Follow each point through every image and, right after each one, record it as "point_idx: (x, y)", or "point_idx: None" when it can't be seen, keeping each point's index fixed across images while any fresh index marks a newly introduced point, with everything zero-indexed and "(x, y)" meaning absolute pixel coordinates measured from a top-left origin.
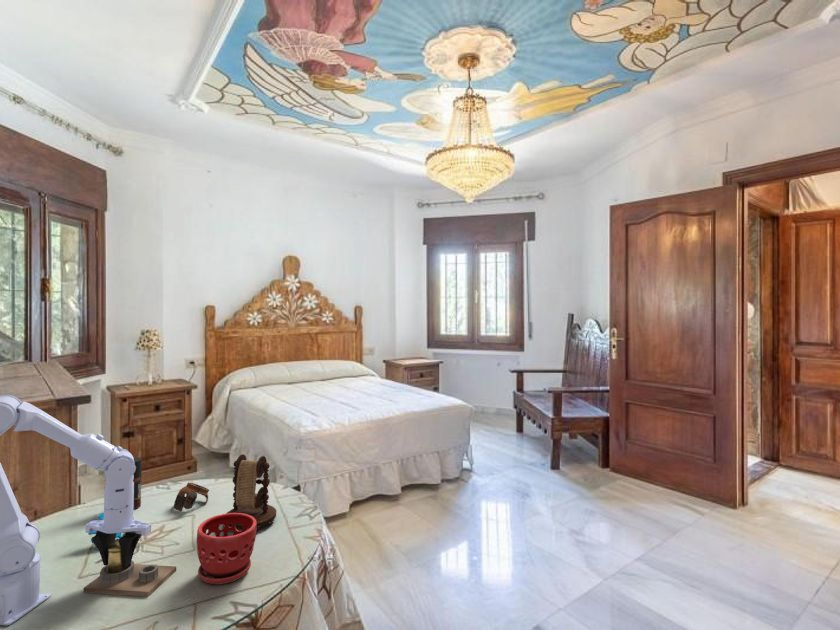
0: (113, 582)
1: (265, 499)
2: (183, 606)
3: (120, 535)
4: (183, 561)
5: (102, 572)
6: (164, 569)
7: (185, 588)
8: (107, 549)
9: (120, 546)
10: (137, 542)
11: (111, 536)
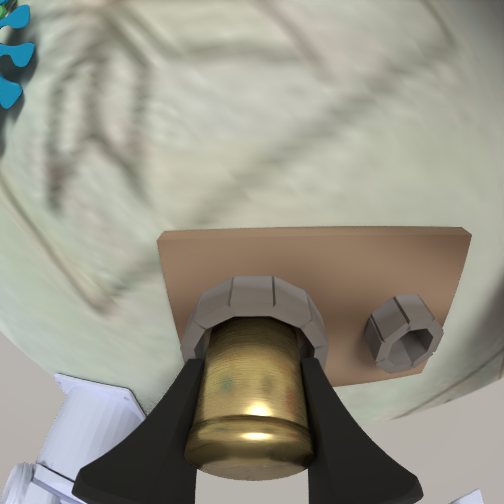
0: None
1: None
2: (488, 360)
3: (1, 50)
4: (462, 149)
5: None
6: (437, 263)
7: (494, 311)
8: None
9: (310, 498)
10: (368, 439)
11: (171, 494)
